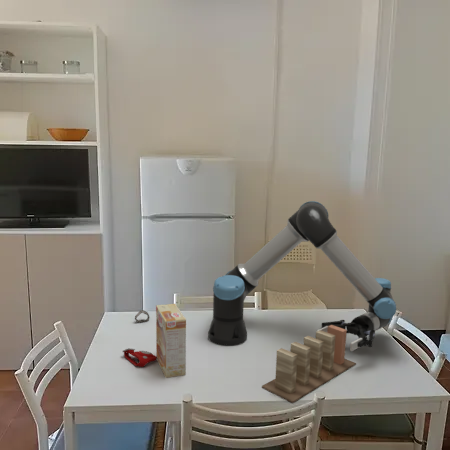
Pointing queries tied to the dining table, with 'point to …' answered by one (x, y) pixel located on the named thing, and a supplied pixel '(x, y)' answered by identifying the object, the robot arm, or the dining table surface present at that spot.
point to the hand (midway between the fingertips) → (333, 340)
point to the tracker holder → (139, 357)
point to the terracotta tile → (338, 343)
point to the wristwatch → (139, 314)
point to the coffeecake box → (171, 340)
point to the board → (313, 382)
